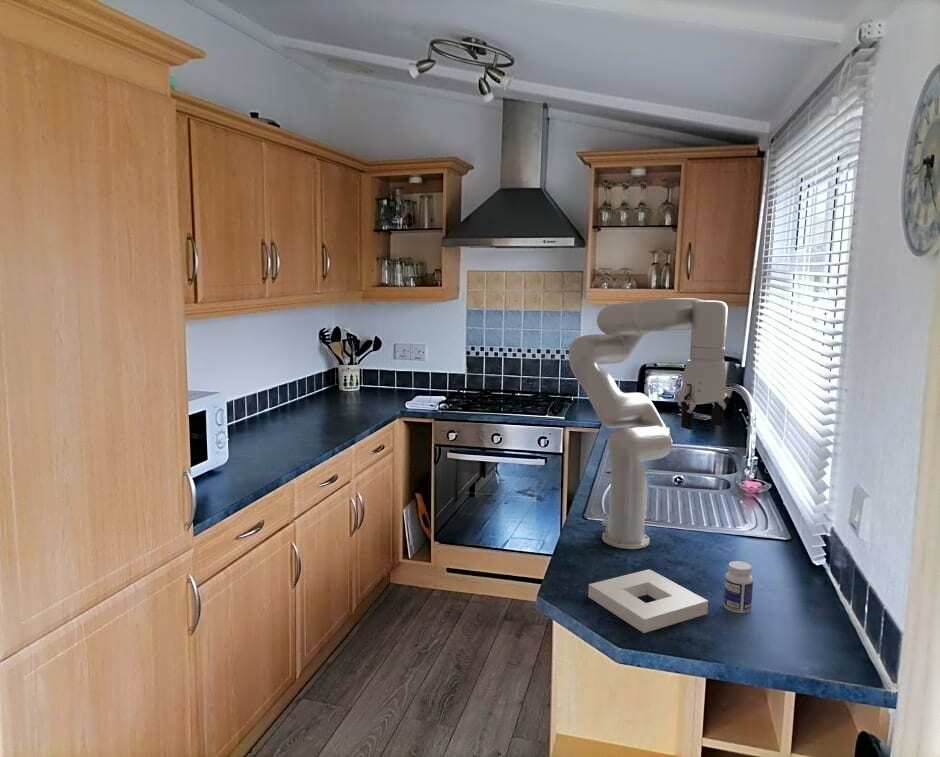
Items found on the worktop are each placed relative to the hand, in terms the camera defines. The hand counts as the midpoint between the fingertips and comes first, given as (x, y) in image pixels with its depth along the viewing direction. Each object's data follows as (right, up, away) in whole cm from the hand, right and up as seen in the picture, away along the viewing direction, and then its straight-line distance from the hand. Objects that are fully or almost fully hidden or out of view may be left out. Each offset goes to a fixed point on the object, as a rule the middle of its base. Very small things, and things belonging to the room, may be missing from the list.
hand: (701, 426), depth 166 cm
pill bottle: (+4, -39, -11) cm, 41 cm away
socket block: (-16, -39, -11) cm, 43 cm away
